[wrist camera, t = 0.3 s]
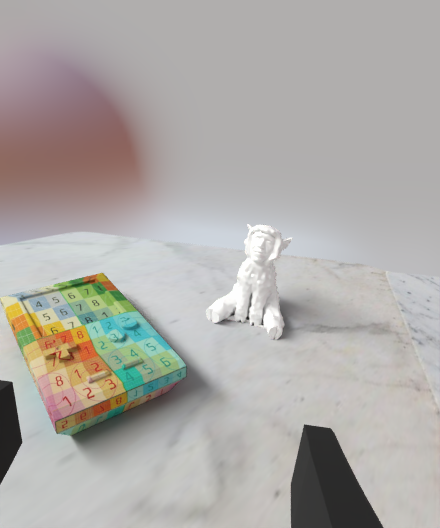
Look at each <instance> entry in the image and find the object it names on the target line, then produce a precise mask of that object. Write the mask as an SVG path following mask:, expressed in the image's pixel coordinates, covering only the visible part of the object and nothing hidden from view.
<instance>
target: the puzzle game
mask: <svg viewBox="0 0 440 528" xmlns="http://www.w3.org/2000/svg"><path fill="white" fill-rule="evenodd" d="M0 299H1V304H2V307H3V310H4V313H5V315H6V317H7V319H8V322H9V324H10V326H11V329H12V331H13V333H14V336H15V338H16V340H17V343H18V345H19V347H20V350H21V352H22V354H23V357H24V359H25V361H26V364H27V366H28V368H29V371H30V373H31V375H32V377H33V380H34V382H35V384H36V387H37V389H38V391H39V394H40V396H41V398H42V401H43V403H44V405H45V408H46V410H47V412H48V415H49V417H50V419H51V422H52V424H53V426H54V429H55V431H56V433H57V434H64V435H73V434H76V433H78V432H80V431H82V430H84V429H87V428H89V427H91V426H93V425H96V424H98V423H100V422H102V421H104V420H107V419H109V418H111V417H113V416H116V415H118V414H120V413H122V412H125V411H127V410H129V409H131V408H133V407H136V406H138V405H140V404H142V403H145V402H147V401H149V400H151V399H153V398H156V397H158V396H160V395H162V394H165V393H167V392H169V391H170V390H171V389H172V388H173V387H174V386H175V385H176V384H177V383H178V382H180V381H181V380H182V379H184V378H185V377H186V373H187V366H186V365H185V363H184V362H183V360H182V359H181V358H180V357H179V356H178V355H177V353H176V352H175V351H174V350H173V349H172V348H171V347H170V346H169V345H168V344H167V343H166V341H165V340H164V339H163V338H162V337H161V336H160V335H159V334H158V333H157V332H156V331H155V329H154V328H153V327H152V326H151V325H150V324H149V323H148V322H147V321H146V320H145V319H144V317H143V316H142V315H141V314H140V313H139V312H138V311H137V310H136V309H135V308H134V307H133V305H132V304H131V303H130V302H129V301H128V300H127V299H126V298H125V297H124V296H123V294H122V293H121V292H120V291H119V290H118V289H117V288H116V287H115V286H114V285H113V284H112V282H111V281H110V280H109V279H108V278H107V277H106V276H105V275H104V274H103V273H100V274H96V275H92V276H87V277H83V278H79V279H75V280H71V281H67V282H63V283H58V284H54V285H50V286H46V287H42V288H38V289H34V290H29V291H25V292H21V293H17V294H13V295H9V296H5V297H1V298H0Z"/></svg>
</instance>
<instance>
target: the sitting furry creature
mask: <svg viewBox="0 0 440 528" xmlns="http://www.w3.org/2000/svg"><path fill="white" fill-rule="evenodd" d="M247 226H248V229H249V233H248V237H247V239H245V240H244V244H245V254H246V255H247V256H248V258H247V259H246V260H245V261H244V262H242V266H241V267H240V268H239V273H238V275H237V283H236V284H234V287H233V290H232V291H231V292H230V293H229V294H228V295H225V296H224V297H222V298H219V299H217V300H216V301H215V302H214V304H213V305H211V306H210V307H209V308H208V309H207V310H206V315H207V318H208V319H209V320H210V321H213V323H217V322H218V323H219V322H220V321H222V320H224V319H227V320H233V321H237V322H239V320H241V323H244V322H245V321H246V322H249V324H250V325H252V324H253V323H254V327H260V328H264V329H266V330H267V333H268V335H269V337H270V338H271V340H273V339H275V340H277V339H278V338H279V337H280V336H281V335H282V332H283V327H284V325H285V324H284V321H283V317H282V315H281V312H280V305H279V301H280V299H279V296H278V291H277V286H276V272H275V266H274V265H273V261H274V260H277V259H278V258H279V256H280V254H281V251H282V250H284V249H285V248H286V247H287V246H288V244H289V243H290V241H291V240H292V239H293V238H287V239H282V238H281V233H280V232H279V231H278V230H277V229H275V228H273V227H272V226H268V225H267V226H265V225H256V226H255V227H252V226H251V225H249V224H247ZM248 312H249V320H247V319H246V317H247V316H248ZM233 314H234V315H233ZM262 319H263V322H262ZM261 324H264V326H263V325H261Z"/></svg>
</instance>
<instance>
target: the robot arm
mask: <svg viewBox="0 0 440 528" xmlns="http://www.w3.org/2000/svg"><path fill="white" fill-rule="evenodd" d="M21 444H22V438H21V432H20V426H19V420H18V413H17V407H16V401H15V395H14V389H13V383H12V382H9V381H2V380H0V484H1V482H2V480H3V478H4V477H5V475H6V473H7V471H8V469H9V467H10V466H11V464H12V462H13V460H14V458H15V456H16V454H17V452H18V450H19V448H20V446H21ZM291 528H383V526H382V524H381V523H380V521H379V519H378V517H377V515H376V514H375V512H374V510H373V508H372V507H371V505H370V503H369V501H368V500H367V498H366V496H365V494H364V492H363V490H362V488H361V487H360V485H359V483H358V481H357V479H356V477H355V475H354V473H353V471H352V469H351V467H350V465H349V463H348V461H347V459H346V457H345V455H344V453H343V451H342V449H341V447H340V445H339V442H338V440H337V438H336V436H335V434H334V432H333V431H332V430H331V428H325V427H318V426H311V425H304V428H303V433H302V437H301V442H300V446H299V451H298V455H297V459H296V464H295V468H294V473H293V477H292V482H291Z"/></svg>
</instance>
